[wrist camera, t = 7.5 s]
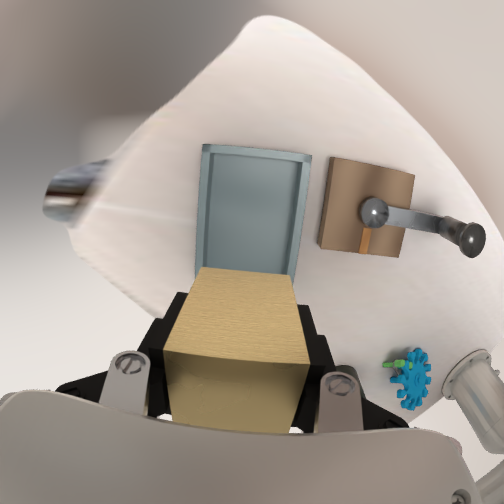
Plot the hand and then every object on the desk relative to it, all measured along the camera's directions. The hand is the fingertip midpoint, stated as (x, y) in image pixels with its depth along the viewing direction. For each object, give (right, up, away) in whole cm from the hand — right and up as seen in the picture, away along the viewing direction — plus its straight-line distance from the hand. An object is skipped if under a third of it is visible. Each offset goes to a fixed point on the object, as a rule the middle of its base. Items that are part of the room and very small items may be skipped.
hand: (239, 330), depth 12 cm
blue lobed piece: (+26, -15, +28) cm, 40 cm away
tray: (0, +7, +20) cm, 21 cm away
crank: (+19, +7, +17) cm, 26 cm away
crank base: (+14, +9, +19) cm, 25 cm away
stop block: (0, +1, +2) cm, 2 cm away
